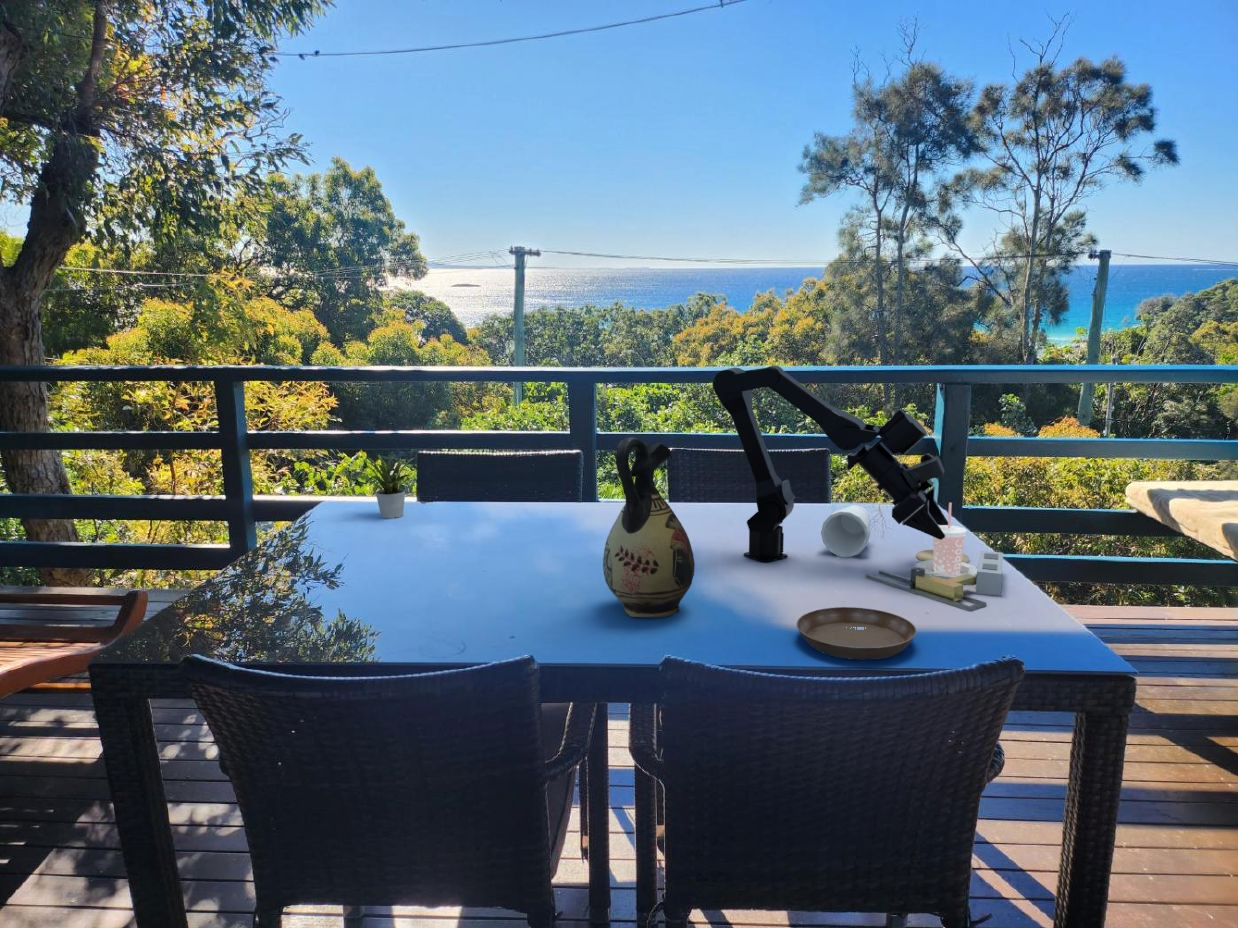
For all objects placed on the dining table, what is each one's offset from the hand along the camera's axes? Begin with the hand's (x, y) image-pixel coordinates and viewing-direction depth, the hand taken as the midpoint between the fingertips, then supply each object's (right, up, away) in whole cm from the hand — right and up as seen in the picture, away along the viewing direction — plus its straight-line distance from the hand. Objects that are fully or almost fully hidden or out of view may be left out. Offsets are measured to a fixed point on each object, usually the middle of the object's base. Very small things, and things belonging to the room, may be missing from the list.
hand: (945, 531), depth 169 cm
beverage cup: (+1, -8, +1) cm, 9 cm away
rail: (-7, -10, -7) cm, 14 cm away
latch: (-3, -10, -8) cm, 13 cm away
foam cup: (-10, +1, +25) cm, 27 cm away
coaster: (+4, -6, +12) cm, 14 cm away
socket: (+2, -9, -1) cm, 9 cm away
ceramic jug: (-56, -12, -15) cm, 60 cm away
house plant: (-118, 0, +54) cm, 130 cm away
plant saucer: (-25, -15, -30) cm, 42 cm away
